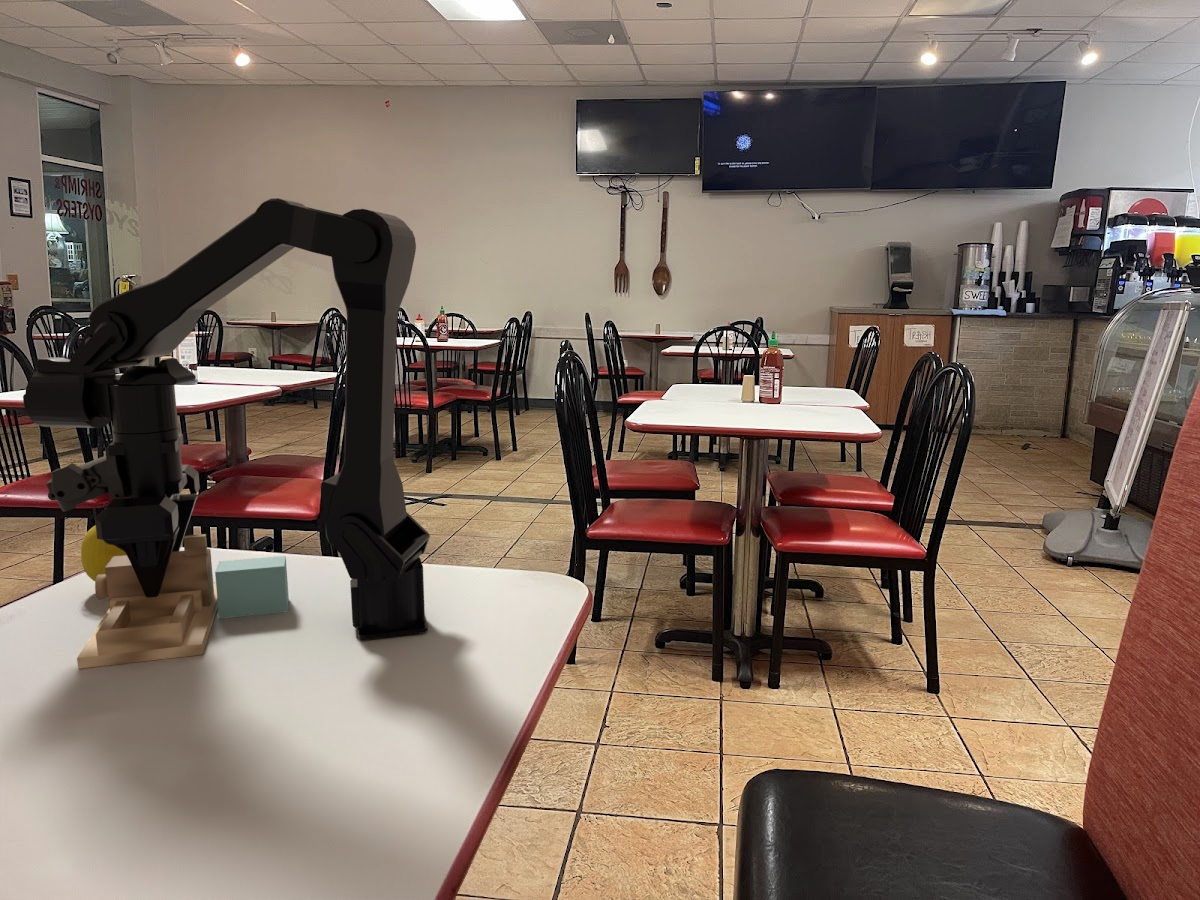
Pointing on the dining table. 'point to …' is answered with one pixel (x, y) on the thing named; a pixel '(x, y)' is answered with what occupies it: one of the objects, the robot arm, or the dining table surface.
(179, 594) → the jig
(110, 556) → the lemon
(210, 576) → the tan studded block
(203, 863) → the dining table surface
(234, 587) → the teal block
